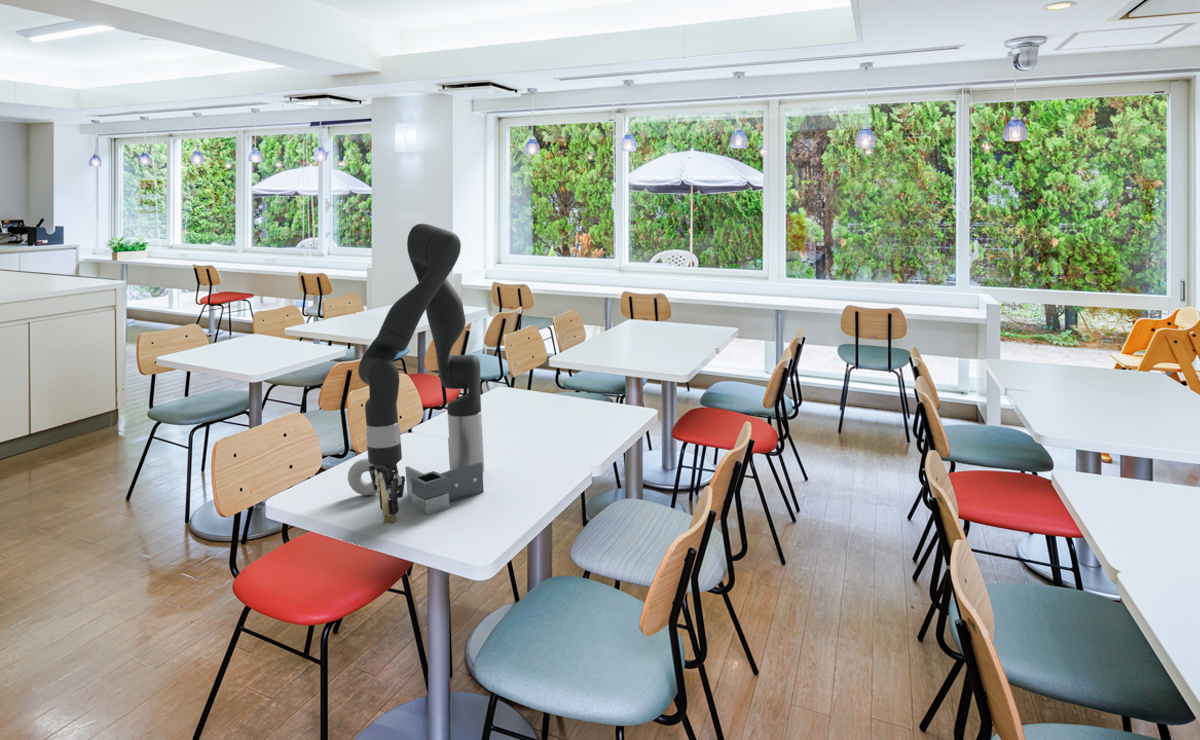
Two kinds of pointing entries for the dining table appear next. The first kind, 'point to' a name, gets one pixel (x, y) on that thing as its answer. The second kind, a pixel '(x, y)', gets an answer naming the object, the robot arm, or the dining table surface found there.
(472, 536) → the dining table surface
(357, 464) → the donut
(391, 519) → the pin
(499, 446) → the dining table surface
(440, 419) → the dining table surface
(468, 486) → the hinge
